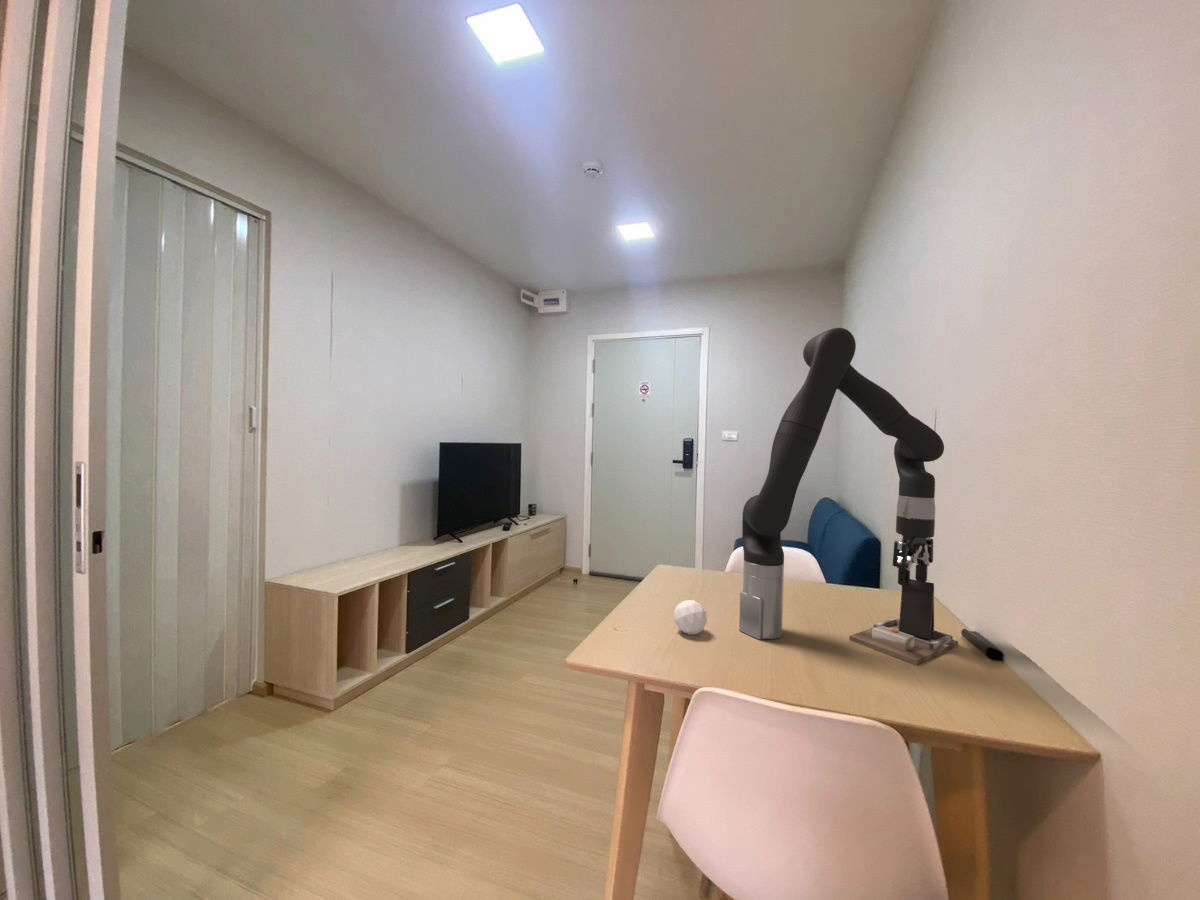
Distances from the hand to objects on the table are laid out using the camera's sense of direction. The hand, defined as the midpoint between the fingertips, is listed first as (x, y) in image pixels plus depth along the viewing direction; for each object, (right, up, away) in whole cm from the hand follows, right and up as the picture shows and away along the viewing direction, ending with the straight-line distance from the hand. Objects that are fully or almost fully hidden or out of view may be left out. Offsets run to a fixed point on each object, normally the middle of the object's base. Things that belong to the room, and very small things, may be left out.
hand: (912, 583), depth 106 cm
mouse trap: (-4, -13, -2) cm, 14 cm away
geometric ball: (-53, -12, +1) cm, 55 cm away
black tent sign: (0, -11, -1) cm, 11 cm away
